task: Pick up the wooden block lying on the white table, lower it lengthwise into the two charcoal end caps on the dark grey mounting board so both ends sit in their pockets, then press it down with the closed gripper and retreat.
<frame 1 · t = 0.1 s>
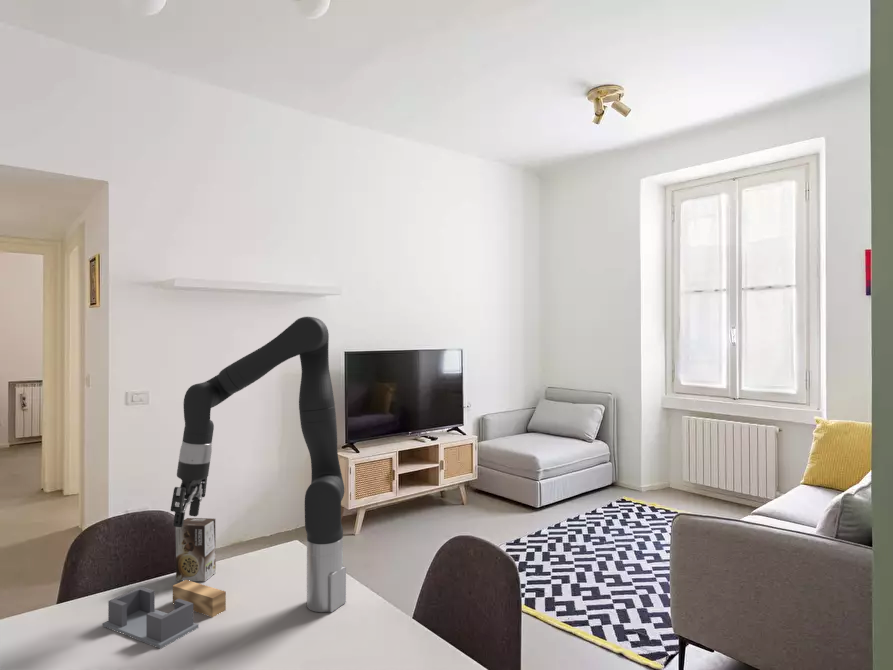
hand: (186, 520, 143), 22 cm above the table, tool pointing down, fingers open, 8 cm apart
end caps: (150, 626, 132), on the table
coffee box: (196, 577, 160), on the table
wooden block: (198, 607, 142), on the table
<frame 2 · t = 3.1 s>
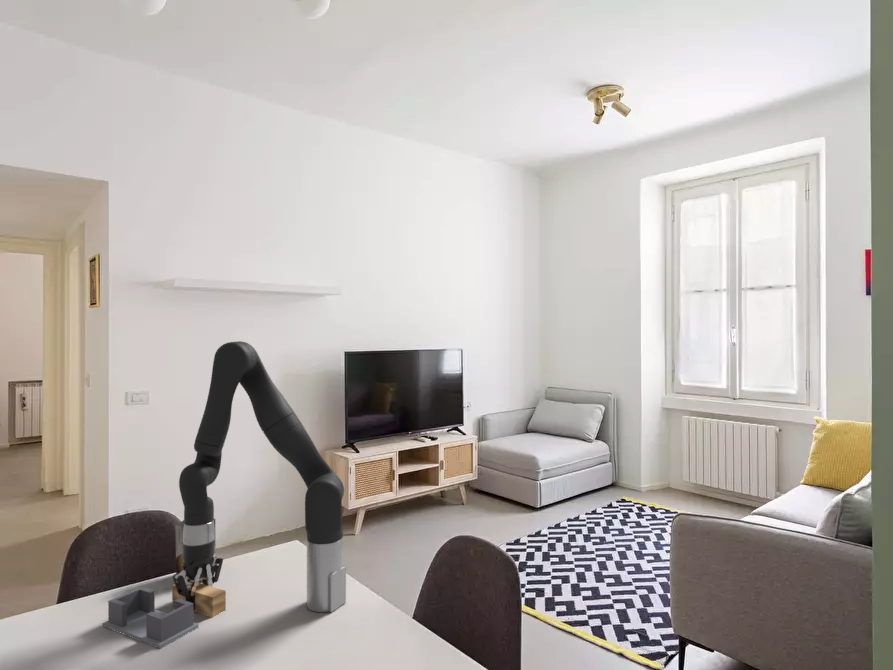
hand: (198, 605, 142), 1 cm above the table, tool pointing down, fingers closed on wooden block, 4 cm apart
wooden block: (198, 607, 142), on the table, touching gripper
everything else where it was.
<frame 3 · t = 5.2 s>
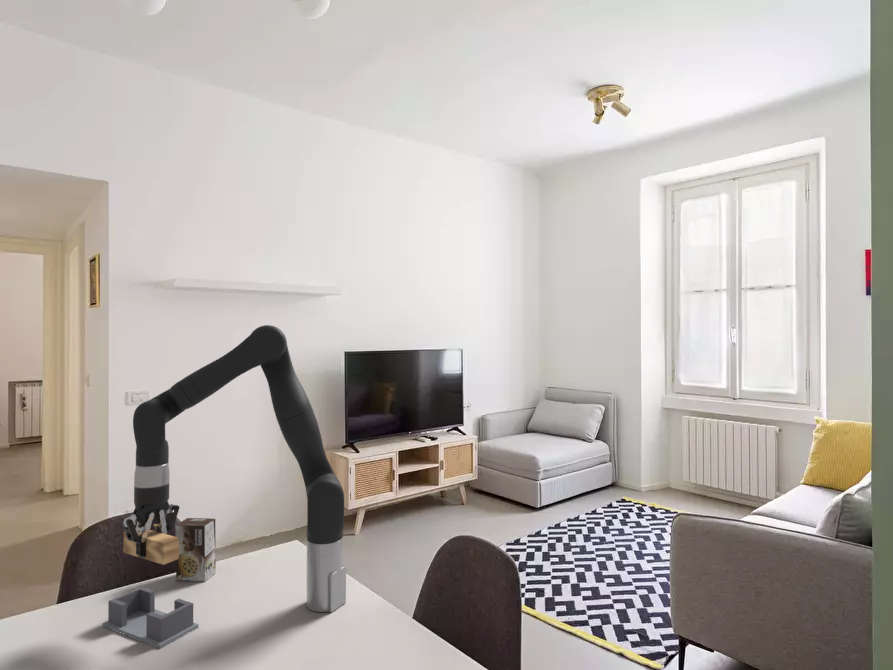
hand: (151, 553, 133), 18 cm above the table, tool pointing down, fingers closed on wooden block, 4 cm apart
wooden block: (150, 555, 133), point 17 cm above the table, touching gripper
everything else where it was.
when the fingers open (2 cm above the table, at t = 7.3 s): wooden block drops 1 cm, resting on end caps.
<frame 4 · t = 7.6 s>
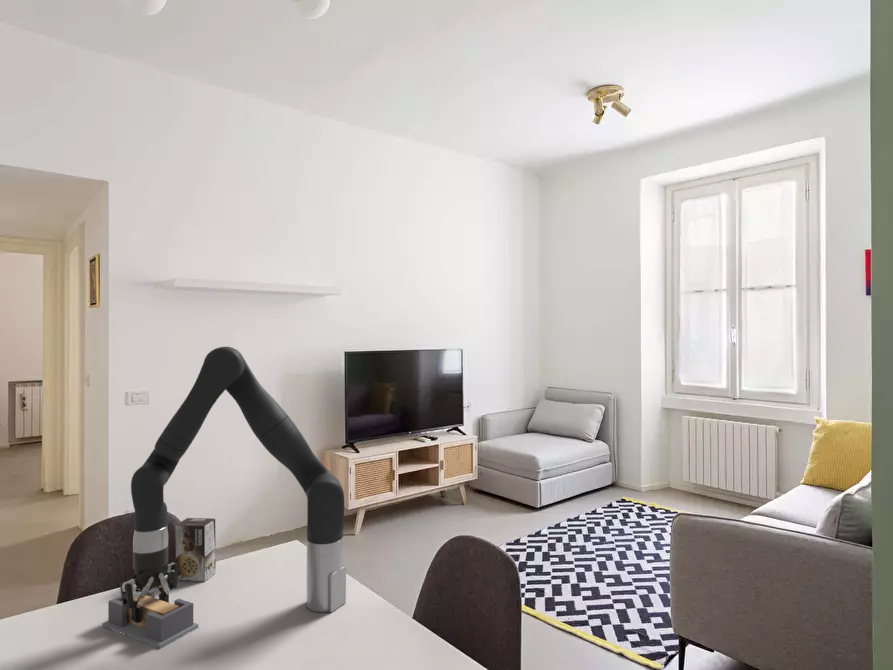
hand: (150, 615, 132), 3 cm above the table, tool pointing down, fingers open, 6 cm apart
wooden block: (150, 623, 132), point 1 cm above the table, touching end caps
everything else where it was.
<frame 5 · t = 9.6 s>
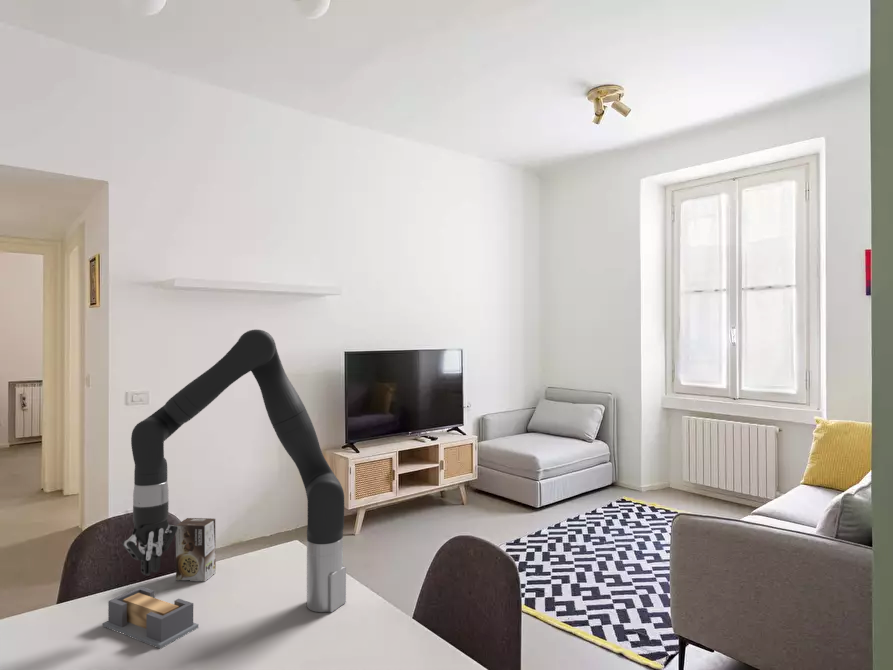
hand: (150, 572, 132), 13 cm above the table, tool pointing down, fingers closed
nothing on the table moved.
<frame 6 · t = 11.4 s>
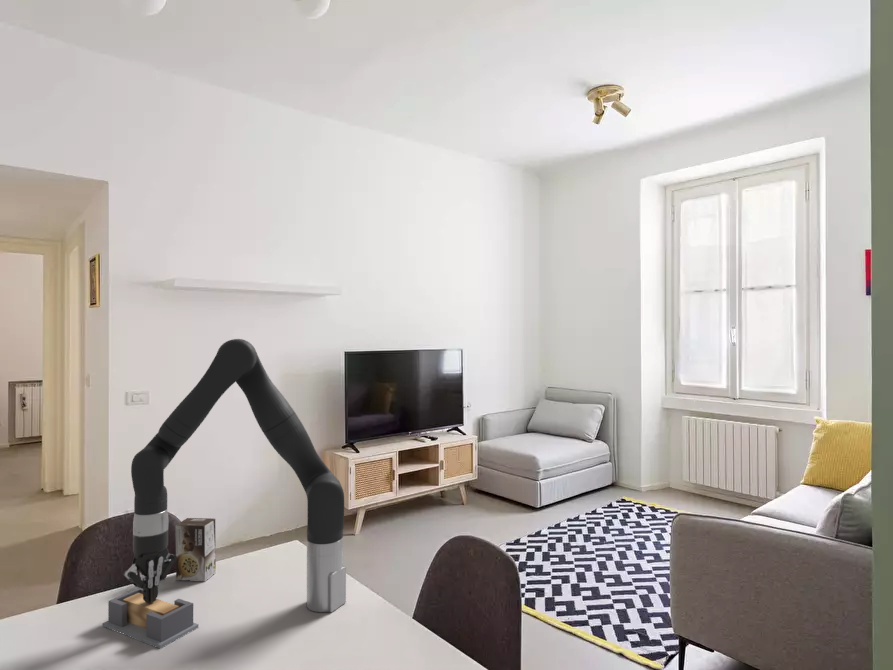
hand: (150, 601, 132), 6 cm above the table, tool pointing down, fingers closed
nothing on the table moved.
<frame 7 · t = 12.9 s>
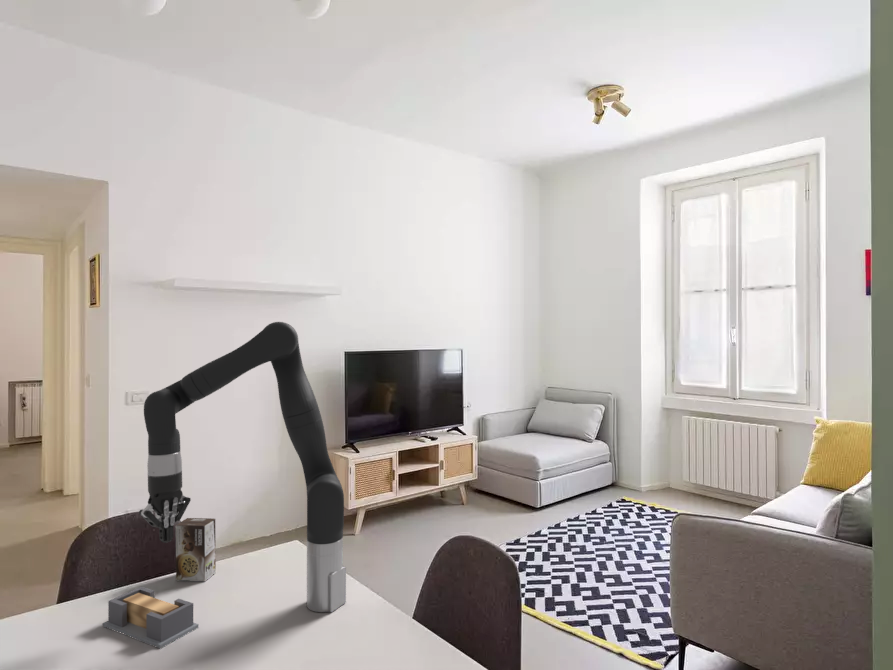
hand: (166, 541, 135), 20 cm above the table, tool pointing down, fingers closed
nothing on the table moved.
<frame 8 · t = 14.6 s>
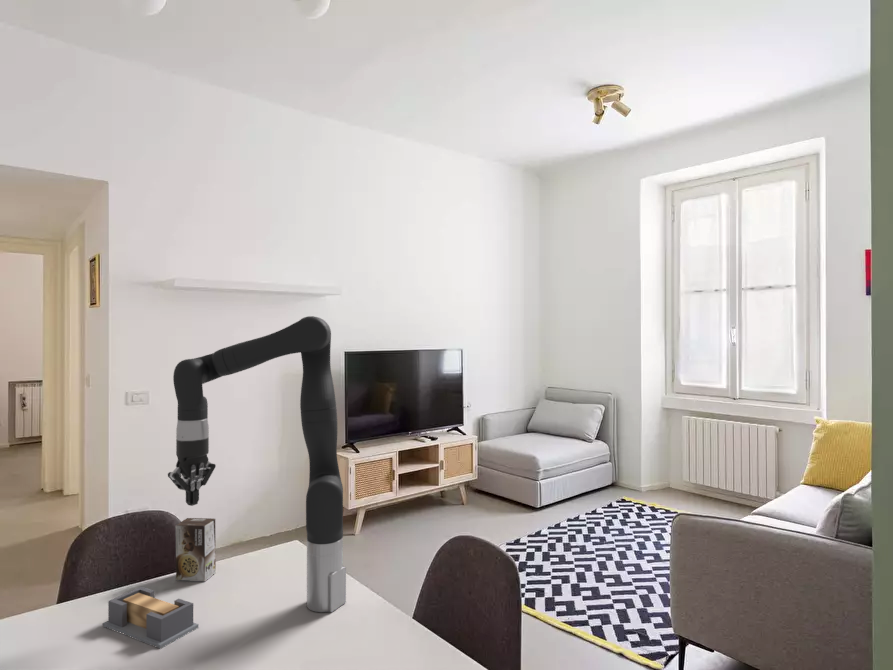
hand: (192, 504, 140), 27 cm above the table, tool pointing down, fingers closed
nothing on the table moved.
at the end: wooden block 0.0 cm off-centre on the end caps, point 0.8 cm above the end caps's base; wooden block tilted 0°; the gripper is holding nothing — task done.
